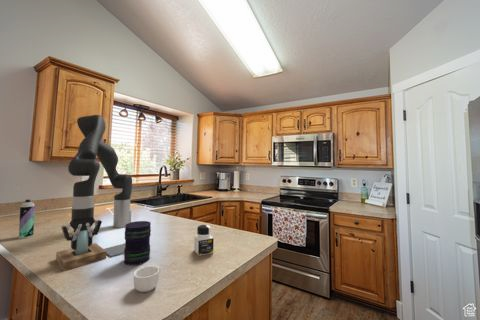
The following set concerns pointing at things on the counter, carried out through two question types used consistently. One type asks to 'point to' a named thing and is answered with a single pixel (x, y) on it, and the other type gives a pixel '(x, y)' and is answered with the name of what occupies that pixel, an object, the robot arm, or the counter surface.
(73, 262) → the pocket block
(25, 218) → the spray can
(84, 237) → the peg
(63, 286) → the counter surface
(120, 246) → the mat
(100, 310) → the counter surface
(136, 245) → the storage jar
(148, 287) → the teacup
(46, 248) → the counter surface
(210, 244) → the medicine bottle
